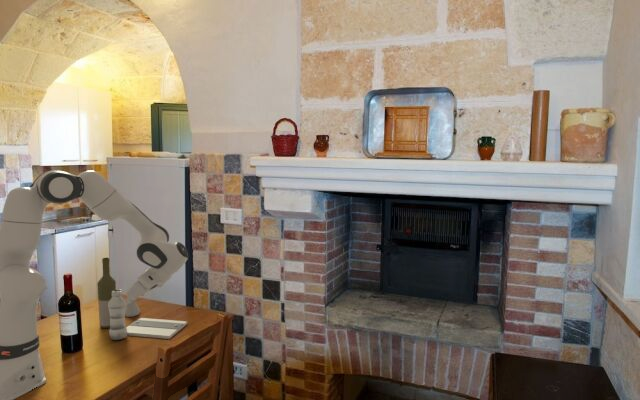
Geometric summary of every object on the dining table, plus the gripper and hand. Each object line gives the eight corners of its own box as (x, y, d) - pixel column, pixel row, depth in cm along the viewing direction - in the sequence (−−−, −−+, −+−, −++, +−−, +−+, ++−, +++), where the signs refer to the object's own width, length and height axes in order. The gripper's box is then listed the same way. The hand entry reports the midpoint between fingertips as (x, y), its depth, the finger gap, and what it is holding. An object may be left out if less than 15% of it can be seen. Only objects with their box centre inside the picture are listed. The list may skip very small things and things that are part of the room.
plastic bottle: (127, 340, 178) (125, 292, 176) (108, 343, 176) (106, 294, 174) (127, 334, 184) (126, 287, 182) (109, 336, 182) (108, 289, 180)
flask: (119, 316, 205) (119, 295, 204) (130, 310, 212) (130, 290, 210) (132, 318, 203) (132, 296, 201) (143, 312, 209) (143, 292, 208)
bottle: (120, 323, 196) (118, 256, 193) (111, 329, 189) (108, 260, 186) (104, 322, 196) (102, 256, 193) (95, 328, 189) (93, 259, 186)
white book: (169, 338, 181) (169, 334, 181) (119, 334, 184) (119, 330, 184) (186, 324, 197) (186, 320, 197) (140, 320, 200) (140, 316, 200)
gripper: (164, 263, 185) (143, 284, 187) (137, 276, 165) (113, 300, 167) (174, 274, 185) (153, 295, 187) (148, 289, 164) (124, 312, 167)
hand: (134, 298), depth 177 cm, fingers open, 8 cm apart
